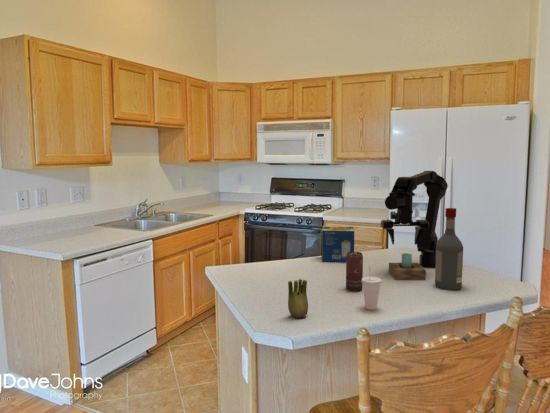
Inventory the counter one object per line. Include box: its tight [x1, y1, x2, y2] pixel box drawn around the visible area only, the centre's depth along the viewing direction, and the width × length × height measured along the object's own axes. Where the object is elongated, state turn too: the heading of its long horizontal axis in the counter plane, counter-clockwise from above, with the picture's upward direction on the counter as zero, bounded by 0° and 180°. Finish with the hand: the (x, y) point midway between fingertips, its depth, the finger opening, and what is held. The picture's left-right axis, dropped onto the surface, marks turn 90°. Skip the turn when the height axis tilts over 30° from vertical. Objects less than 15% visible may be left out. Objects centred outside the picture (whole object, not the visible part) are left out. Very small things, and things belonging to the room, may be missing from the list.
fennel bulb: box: [287, 278, 309, 319], centre depth 128 cm, size 6×5×12 cm
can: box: [345, 250, 364, 293], centre depth 154 cm, size 6×6×14 cm
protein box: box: [321, 226, 355, 264], centre depth 197 cm, size 10×15×16 cm
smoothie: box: [362, 266, 382, 311], centre depth 135 cm, size 6×6×14 cm
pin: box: [401, 252, 413, 268], centre depth 170 cm, size 4×4×8 cm
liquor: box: [434, 207, 464, 291], centre depth 155 cm, size 9×9×30 cm
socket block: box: [388, 262, 427, 281], centre depth 171 cm, size 12×12×4 cm
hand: (404, 244), depth 172 cm, fingers open, 9 cm apart
